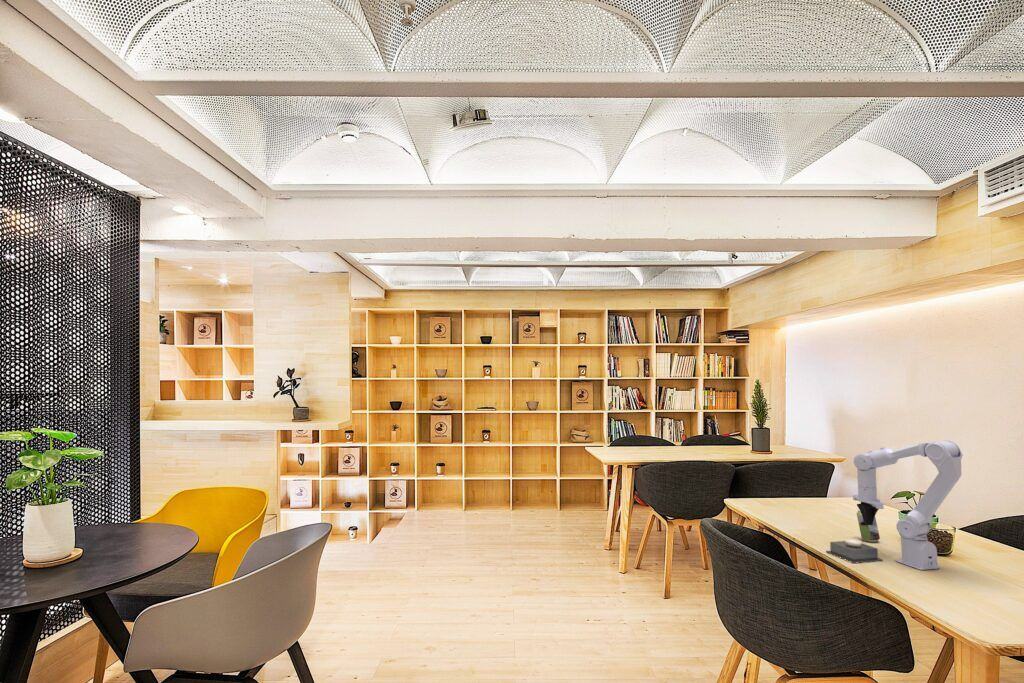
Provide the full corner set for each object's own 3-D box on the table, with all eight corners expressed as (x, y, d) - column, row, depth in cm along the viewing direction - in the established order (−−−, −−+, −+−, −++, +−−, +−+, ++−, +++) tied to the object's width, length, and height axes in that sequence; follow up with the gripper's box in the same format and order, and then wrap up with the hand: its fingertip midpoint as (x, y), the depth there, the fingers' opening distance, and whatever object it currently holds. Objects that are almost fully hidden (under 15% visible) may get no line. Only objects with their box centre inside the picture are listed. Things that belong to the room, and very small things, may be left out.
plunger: (865, 556, 190) (864, 542, 190) (853, 557, 189) (853, 542, 189) (853, 552, 195) (853, 537, 195) (842, 553, 194) (841, 538, 194)
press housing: (882, 561, 187) (882, 549, 188) (853, 563, 185) (853, 551, 185) (853, 550, 199) (853, 539, 199) (826, 552, 196) (825, 541, 197)
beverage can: (879, 544, 207) (878, 512, 207) (856, 540, 211) (855, 509, 212) (880, 540, 212) (879, 509, 212) (858, 537, 216) (857, 506, 217)
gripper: (891, 490, 191) (893, 530, 190) (865, 483, 206) (867, 519, 205) (871, 490, 192) (872, 529, 191) (846, 482, 206) (848, 519, 205)
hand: (868, 524), depth 198 cm, fingers closed
